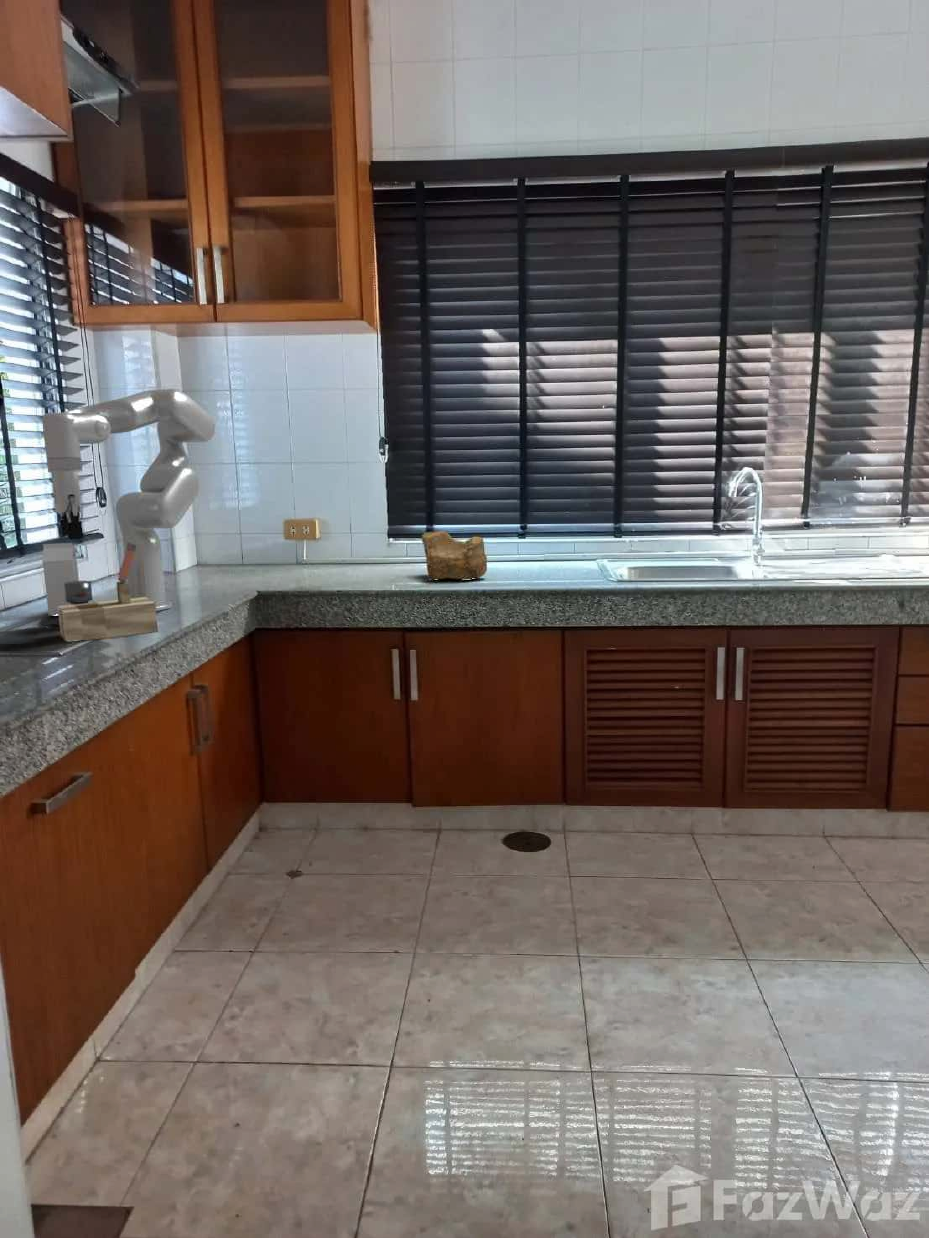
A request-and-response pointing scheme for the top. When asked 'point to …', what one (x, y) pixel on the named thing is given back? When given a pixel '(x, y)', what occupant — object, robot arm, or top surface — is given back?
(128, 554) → the keeper bar
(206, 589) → the top surface
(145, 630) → the block
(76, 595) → the dark grey metal block
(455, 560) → the rough brown rock
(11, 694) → the top surface
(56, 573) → the milk carton
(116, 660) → the top surface
